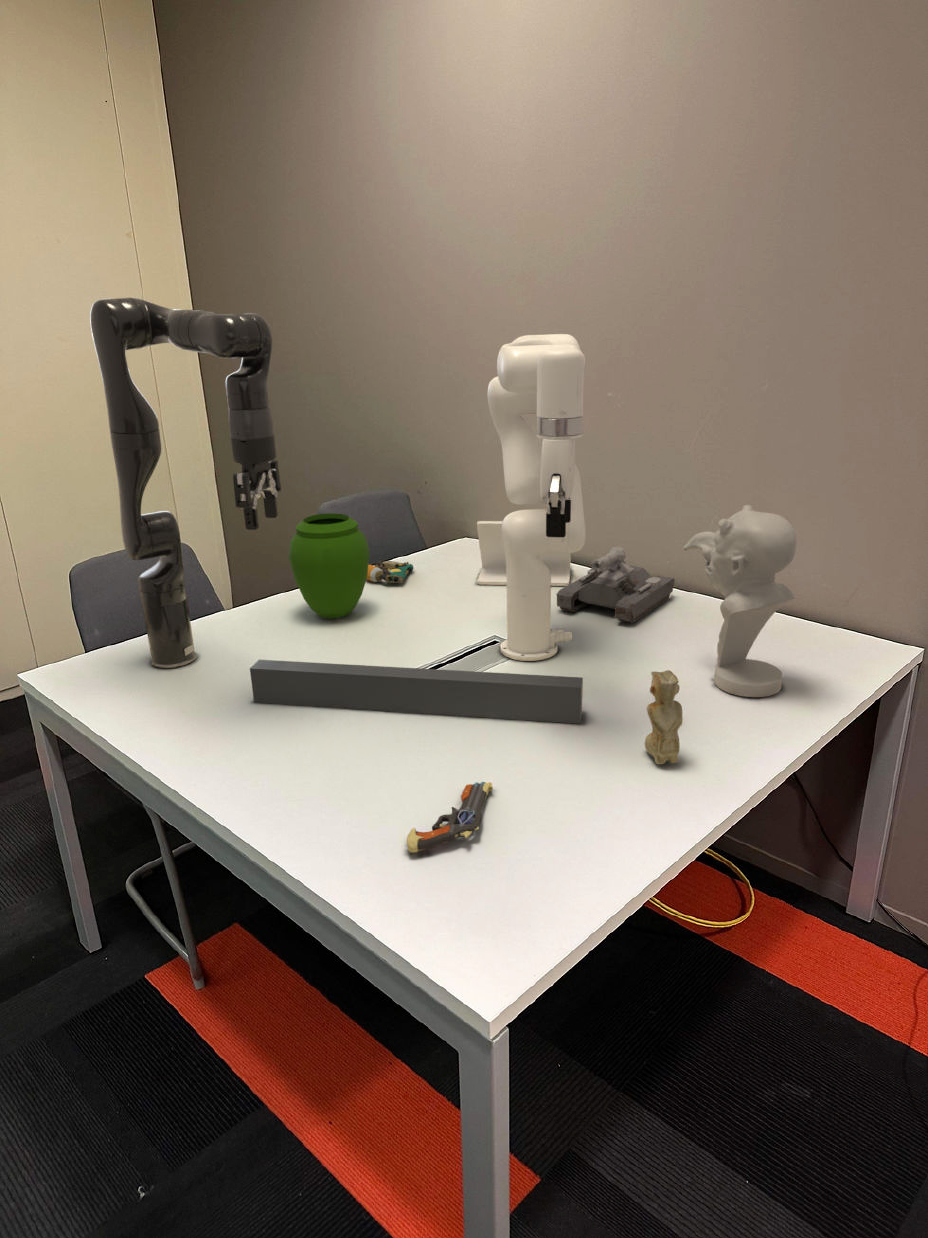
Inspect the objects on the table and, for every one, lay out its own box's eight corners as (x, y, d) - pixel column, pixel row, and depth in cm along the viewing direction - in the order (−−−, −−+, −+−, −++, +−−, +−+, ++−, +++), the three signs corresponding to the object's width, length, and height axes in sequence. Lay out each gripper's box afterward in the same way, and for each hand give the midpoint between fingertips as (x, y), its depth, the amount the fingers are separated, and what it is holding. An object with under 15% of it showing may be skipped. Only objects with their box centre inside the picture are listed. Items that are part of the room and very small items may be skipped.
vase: (389, 608, 216) (383, 514, 208) (339, 633, 201) (330, 533, 192) (330, 596, 226) (322, 506, 218) (278, 619, 211) (267, 523, 202)
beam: (582, 713, 160) (582, 677, 157) (580, 723, 156) (581, 687, 153) (263, 692, 172) (259, 659, 169) (253, 702, 168) (249, 668, 165)
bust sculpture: (716, 647, 187) (729, 489, 174) (804, 687, 167) (826, 512, 154) (658, 663, 180) (668, 499, 167) (743, 707, 160) (761, 525, 147)
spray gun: (382, 568, 251) (427, 575, 245) (352, 581, 237) (399, 589, 231) (382, 554, 250) (427, 560, 244) (351, 566, 235) (399, 574, 230)
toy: (603, 584, 229) (605, 530, 224) (673, 597, 218) (677, 540, 213) (555, 612, 210) (556, 553, 205) (630, 627, 199) (633, 566, 194)
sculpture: (673, 746, 147) (678, 666, 142) (685, 767, 140) (691, 684, 135) (639, 747, 147) (643, 667, 141) (650, 769, 140) (654, 686, 135)
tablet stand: (569, 585, 229) (570, 524, 223) (476, 584, 232) (475, 523, 226) (570, 566, 246) (571, 508, 240) (484, 564, 249) (483, 507, 243)
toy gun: (402, 841, 119) (471, 840, 117) (431, 778, 137) (492, 776, 135) (405, 858, 120) (474, 857, 118) (434, 793, 138) (494, 791, 136)
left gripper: (249, 427, 158) (259, 513, 163) (213, 440, 145) (225, 532, 150) (287, 427, 156) (296, 514, 162) (254, 440, 143) (265, 534, 149)
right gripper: (542, 420, 148) (542, 516, 154) (530, 435, 132) (530, 542, 138) (586, 420, 147) (584, 517, 153) (578, 435, 131) (576, 543, 137)
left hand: (262, 523), depth 156 cm, fingers open, 8 cm apart
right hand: (558, 529), depth 146 cm, fingers open, 9 cm apart
